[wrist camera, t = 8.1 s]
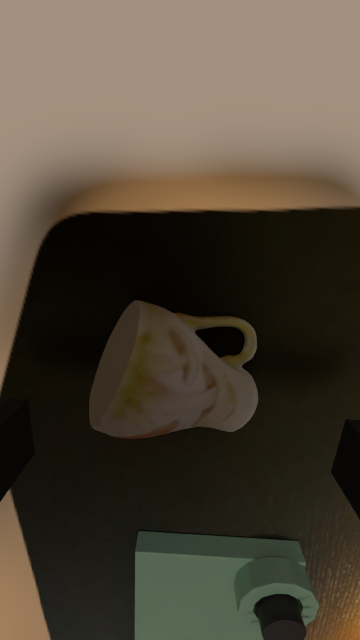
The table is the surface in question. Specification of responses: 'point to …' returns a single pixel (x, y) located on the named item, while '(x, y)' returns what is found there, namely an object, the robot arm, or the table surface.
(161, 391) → the mug
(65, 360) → the table surface
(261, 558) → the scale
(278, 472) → the table surface
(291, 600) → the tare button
